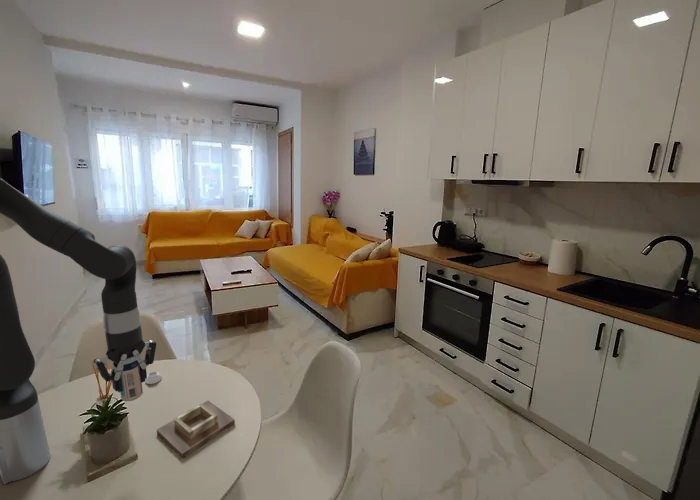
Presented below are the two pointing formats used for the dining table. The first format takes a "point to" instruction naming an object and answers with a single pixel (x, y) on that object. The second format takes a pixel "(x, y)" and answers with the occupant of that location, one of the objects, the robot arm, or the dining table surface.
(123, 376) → the beer can
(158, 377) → the white rounded piece
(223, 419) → the board
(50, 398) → the dining table surface
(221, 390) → the dining table surface
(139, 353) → the robot arm
